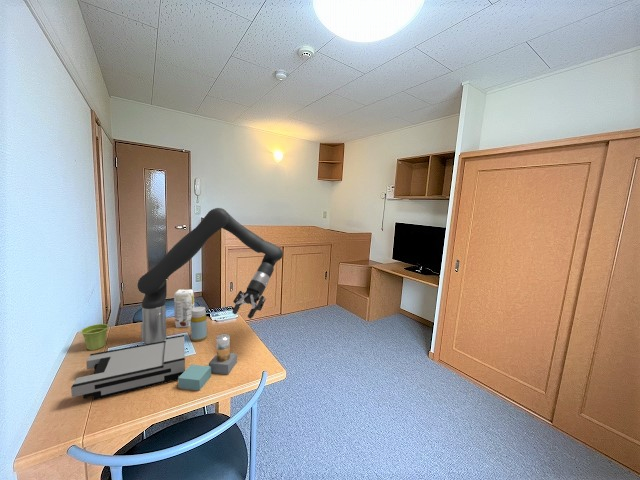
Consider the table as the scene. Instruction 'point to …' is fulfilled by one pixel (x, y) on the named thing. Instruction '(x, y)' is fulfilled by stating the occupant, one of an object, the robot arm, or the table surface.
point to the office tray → (132, 368)
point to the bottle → (198, 324)
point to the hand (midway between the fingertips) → (241, 315)
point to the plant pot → (95, 336)
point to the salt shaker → (223, 347)
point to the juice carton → (183, 307)
